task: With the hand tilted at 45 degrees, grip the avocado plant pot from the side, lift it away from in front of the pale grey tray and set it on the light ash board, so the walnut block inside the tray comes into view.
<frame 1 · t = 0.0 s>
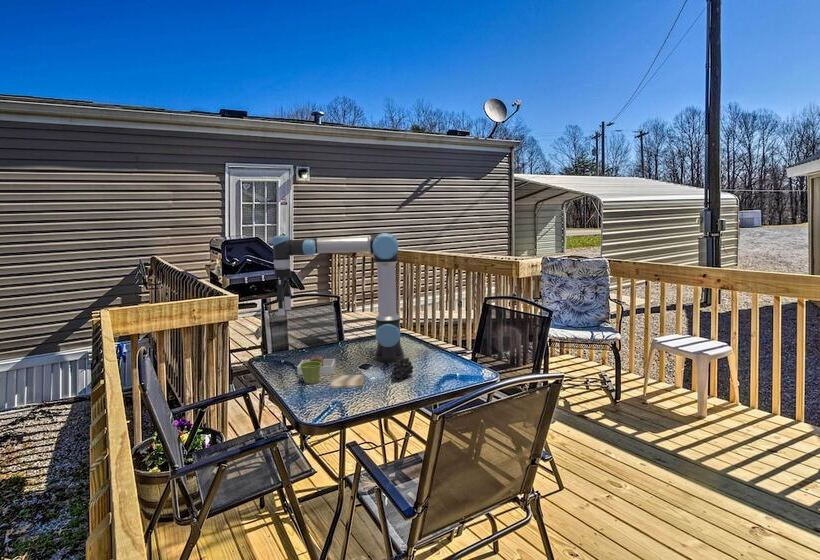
hand: (284, 312, 235), 28 cm above the table, fingers open, 13 cm apart
grey tray: (317, 372, 232), on the table
plant pot: (311, 383, 217), on the table
ash board: (347, 382, 217), on the table
fruit: (399, 378, 222), on the table
walnut block: (317, 370, 232), point 1 cm above the table, touching grey tray
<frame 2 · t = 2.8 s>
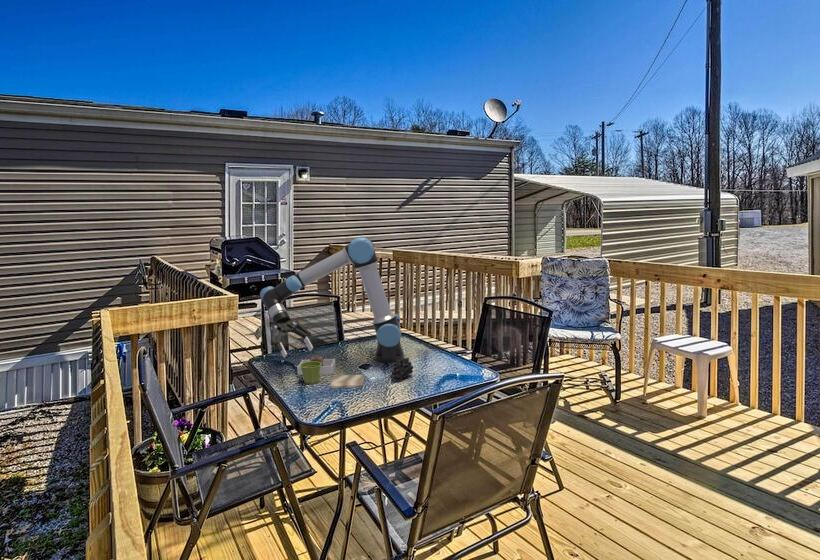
hand: (298, 352, 220), 13 cm above the table, fingers open, 13 cm apart
nothing on the table moved.
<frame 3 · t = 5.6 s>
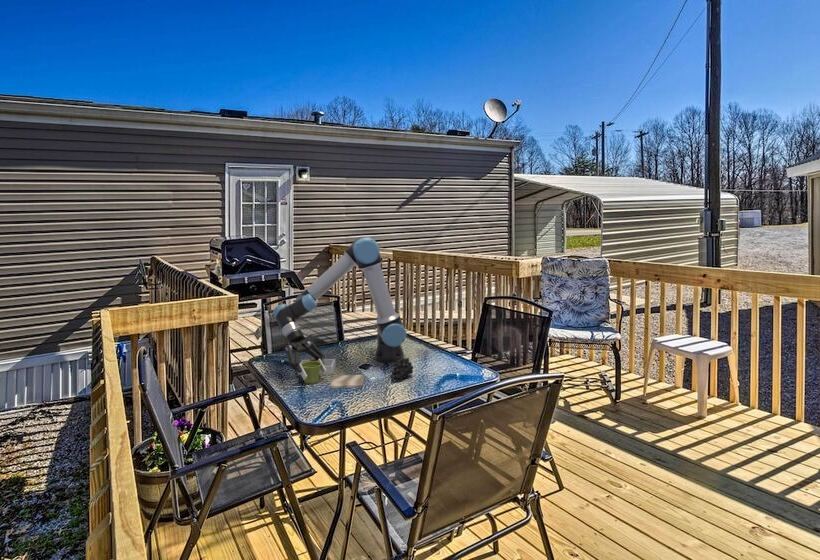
hand: (315, 375, 214), 4 cm above the table, fingers closed on plant pot, 9 cm apart
plant pot: (311, 383, 217), on the table, touching gripper
everything else where it was.
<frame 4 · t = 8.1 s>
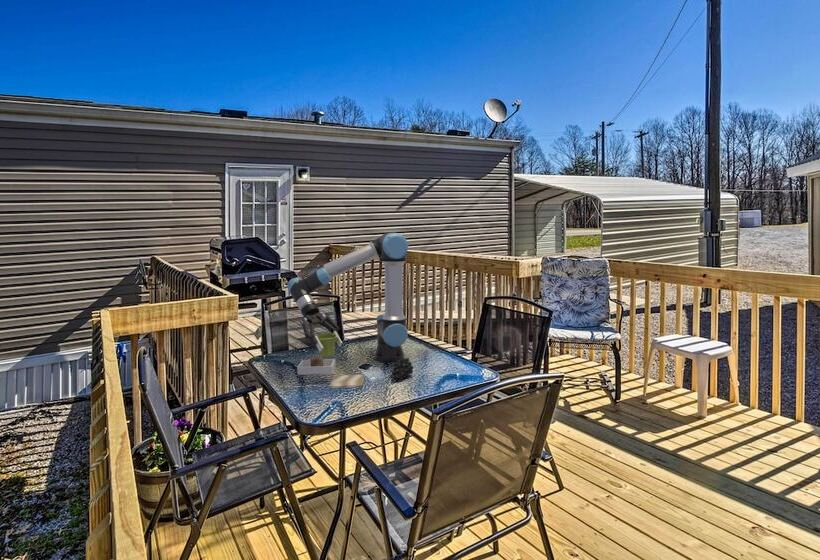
hand: (331, 346, 213), 17 cm above the table, fingers closed on plant pot, 9 cm apart
plant pot: (327, 356, 215), point 12 cm above the table, touching gripper
everything else where it was.
when the fingers open (7 cm above the table, at t = 11.0 s): plant pot drops 1 cm, resting on ash board.
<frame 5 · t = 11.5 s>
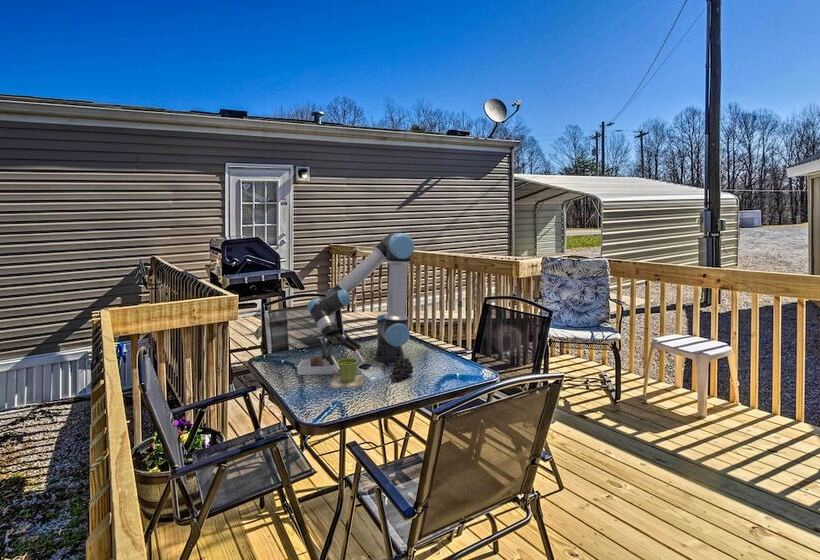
hand: (350, 366, 214), 8 cm above the table, fingers open, 13 cm apart
plant pot: (348, 380, 217), point 1 cm above the table, touching ash board
everything else where it was.
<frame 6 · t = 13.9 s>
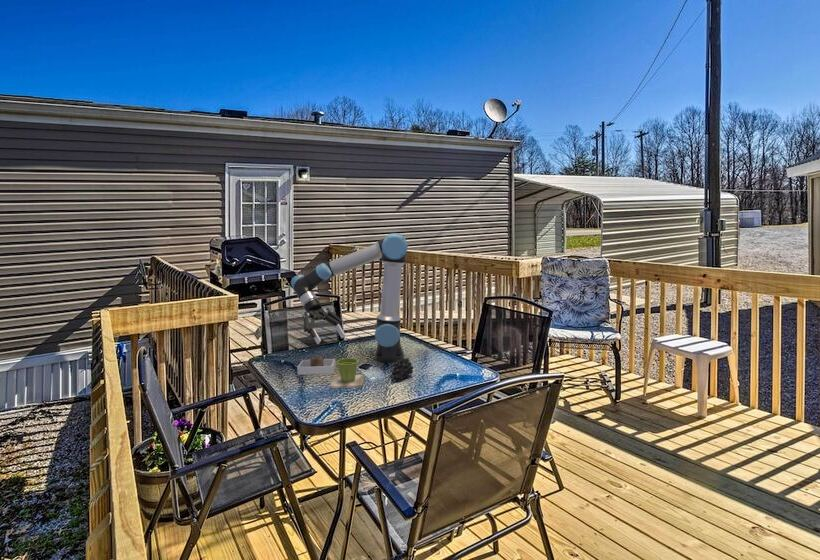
hand: (331, 339, 222), 18 cm above the table, fingers open, 13 cm apart
nothing on the table moved.
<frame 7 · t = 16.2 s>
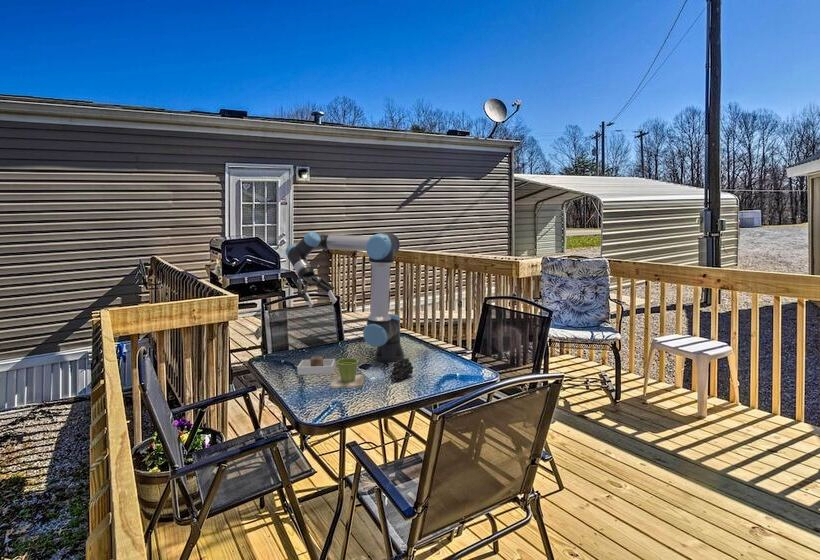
hand: (323, 303, 235), 32 cm above the table, fingers open, 13 cm apart
nothing on the table moved.
at the end: plant pot inside the target area on the ash board (0.1 cm from its centre), point 0.8 cm above the ash board's base; plant pot tilted 0°; the gripper is holding nothing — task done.
